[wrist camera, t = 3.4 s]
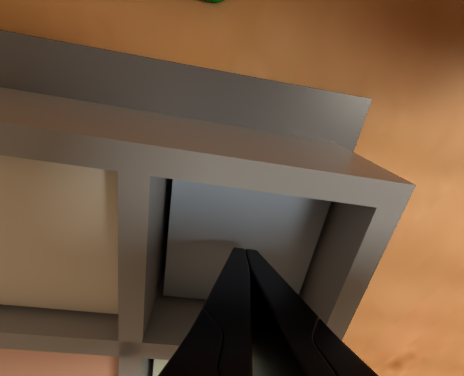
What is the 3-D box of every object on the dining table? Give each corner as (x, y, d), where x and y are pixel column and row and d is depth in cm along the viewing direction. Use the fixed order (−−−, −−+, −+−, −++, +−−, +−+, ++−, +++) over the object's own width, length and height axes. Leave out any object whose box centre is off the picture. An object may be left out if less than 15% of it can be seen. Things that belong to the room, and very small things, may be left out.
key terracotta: (142, 279, 13) (118, 340, 10) (139, 353, 15) (118, 422, 12) (25, 267, 12) (-40, 328, 9) (39, 345, 14) (-11, 416, 11)
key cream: (148, 144, 10) (117, 170, 7) (143, 256, 12) (118, 314, 9) (-1, 121, 10) (-104, 139, 7) (20, 243, 12) (-50, 299, 9)
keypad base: (367, 98, 11) (494, 112, 6) (272, 368, 19) (293, 483, 13) (-42, 22, 10) (-359, -50, 4) (26, 351, 17) (-64, 476, 12)
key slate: (306, 162, 12) (335, 190, 9) (278, 258, 14) (294, 307, 11) (186, 144, 11) (173, 166, 8) (176, 247, 13) (163, 295, 10)
